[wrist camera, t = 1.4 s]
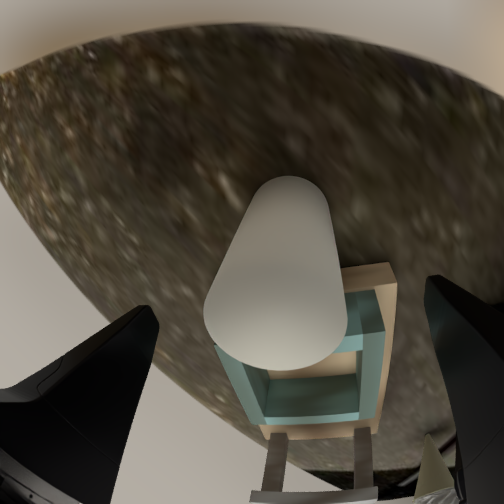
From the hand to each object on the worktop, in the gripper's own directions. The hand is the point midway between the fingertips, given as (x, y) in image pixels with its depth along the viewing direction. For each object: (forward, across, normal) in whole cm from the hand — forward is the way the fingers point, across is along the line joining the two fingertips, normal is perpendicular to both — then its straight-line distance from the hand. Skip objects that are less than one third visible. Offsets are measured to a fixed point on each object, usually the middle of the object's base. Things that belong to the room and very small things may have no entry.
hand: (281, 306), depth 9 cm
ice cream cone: (+7, -12, +27) cm, 31 cm away
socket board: (+7, 0, +11) cm, 13 cm away
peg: (+7, 0, 0) cm, 7 cm away
